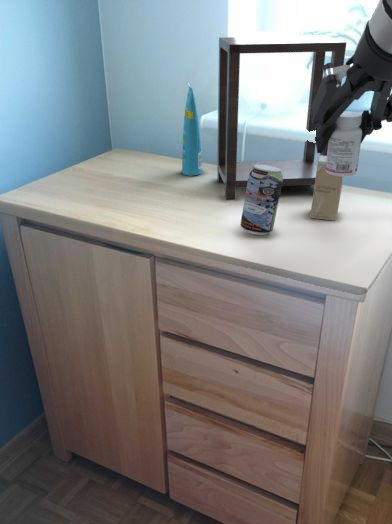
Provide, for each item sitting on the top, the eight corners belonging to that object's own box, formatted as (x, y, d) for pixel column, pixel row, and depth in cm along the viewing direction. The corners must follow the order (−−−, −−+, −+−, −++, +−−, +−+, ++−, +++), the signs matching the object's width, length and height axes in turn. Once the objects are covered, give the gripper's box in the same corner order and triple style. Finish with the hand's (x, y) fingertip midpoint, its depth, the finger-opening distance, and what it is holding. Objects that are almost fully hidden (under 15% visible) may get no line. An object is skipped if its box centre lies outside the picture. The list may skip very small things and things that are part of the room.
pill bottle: (337, 166, 88) (344, 109, 84) (363, 172, 85) (371, 113, 81) (318, 172, 86) (324, 113, 81) (343, 179, 83) (351, 118, 78)
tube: (179, 169, 137) (177, 83, 126) (199, 168, 138) (198, 82, 127) (185, 178, 131) (183, 89, 120) (205, 176, 132) (205, 88, 121)
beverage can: (233, 231, 103) (235, 166, 97) (261, 222, 107) (265, 158, 100) (257, 242, 99) (261, 174, 93) (285, 231, 103) (291, 166, 96)
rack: (327, 195, 120) (346, 42, 104) (226, 200, 118) (229, 44, 102) (309, 176, 131) (324, 35, 115) (217, 180, 130) (219, 37, 113)
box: (309, 218, 109) (315, 160, 103) (312, 210, 112) (318, 154, 106) (336, 221, 107) (345, 162, 101) (339, 213, 111) (347, 156, 105)
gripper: (327, 63, 63) (282, 169, 86) (478, 58, 64) (394, 163, 87) (319, 5, 64) (276, 125, 87) (466, 2, 66) (386, 120, 88)
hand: (335, 144), depth 87 cm, fingers closed on pill bottle, 5 cm apart
